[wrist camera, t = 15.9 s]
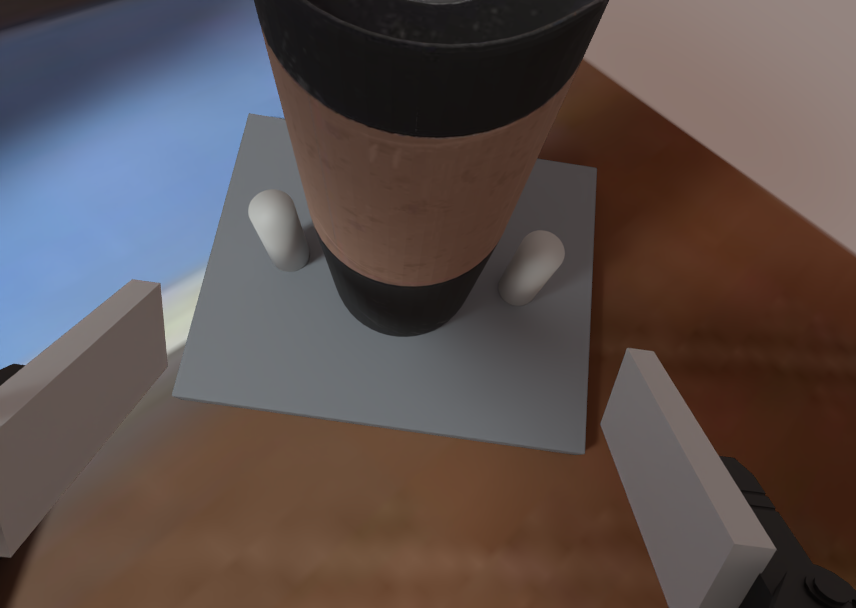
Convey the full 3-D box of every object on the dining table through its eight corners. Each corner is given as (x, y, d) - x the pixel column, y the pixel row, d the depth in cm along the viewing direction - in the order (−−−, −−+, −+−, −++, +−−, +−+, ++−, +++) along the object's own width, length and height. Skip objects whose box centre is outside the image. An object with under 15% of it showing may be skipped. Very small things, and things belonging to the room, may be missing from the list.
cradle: (180, 399, 28) (124, 377, 22) (253, 126, 32) (224, 47, 27) (576, 455, 28) (627, 448, 22) (589, 178, 33) (634, 113, 27)
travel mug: (306, 238, 29) (161, -207, 10) (436, 186, 31) (518, -287, 12) (366, 368, 27) (323, 118, 8) (501, 306, 29) (723, -25, 10)
